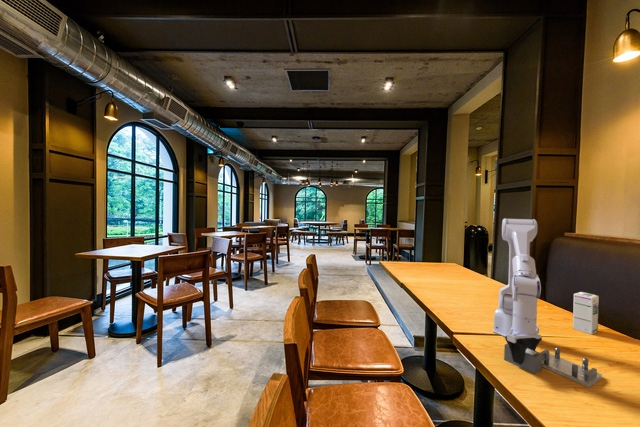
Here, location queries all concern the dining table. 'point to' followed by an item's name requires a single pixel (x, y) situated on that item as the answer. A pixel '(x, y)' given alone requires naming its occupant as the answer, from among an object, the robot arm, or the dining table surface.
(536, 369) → the block
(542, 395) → the dining table surface
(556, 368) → the pin tray
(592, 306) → the syrup box
